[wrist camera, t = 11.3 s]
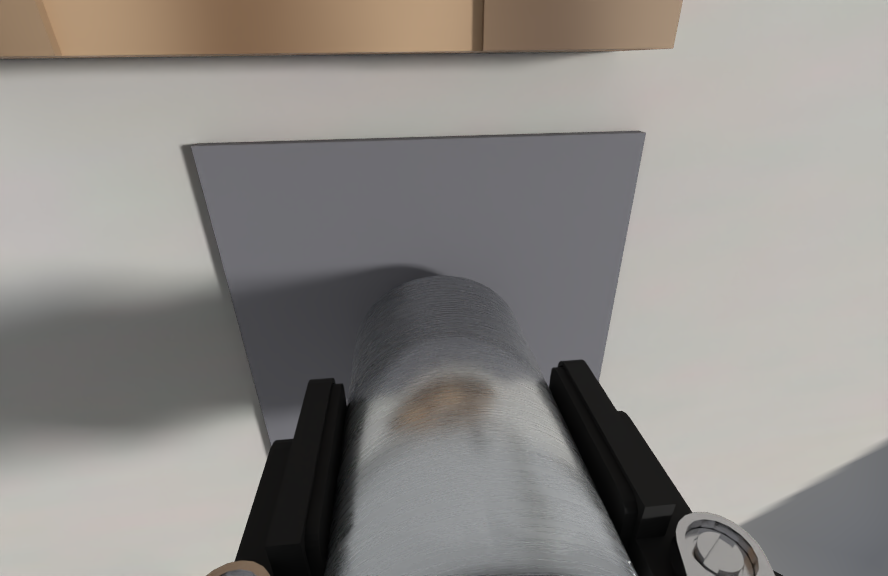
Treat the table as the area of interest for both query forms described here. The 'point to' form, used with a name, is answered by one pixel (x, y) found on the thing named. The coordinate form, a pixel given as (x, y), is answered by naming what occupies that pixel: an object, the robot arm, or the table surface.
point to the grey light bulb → (460, 449)
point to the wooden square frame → (329, 27)
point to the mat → (414, 241)
